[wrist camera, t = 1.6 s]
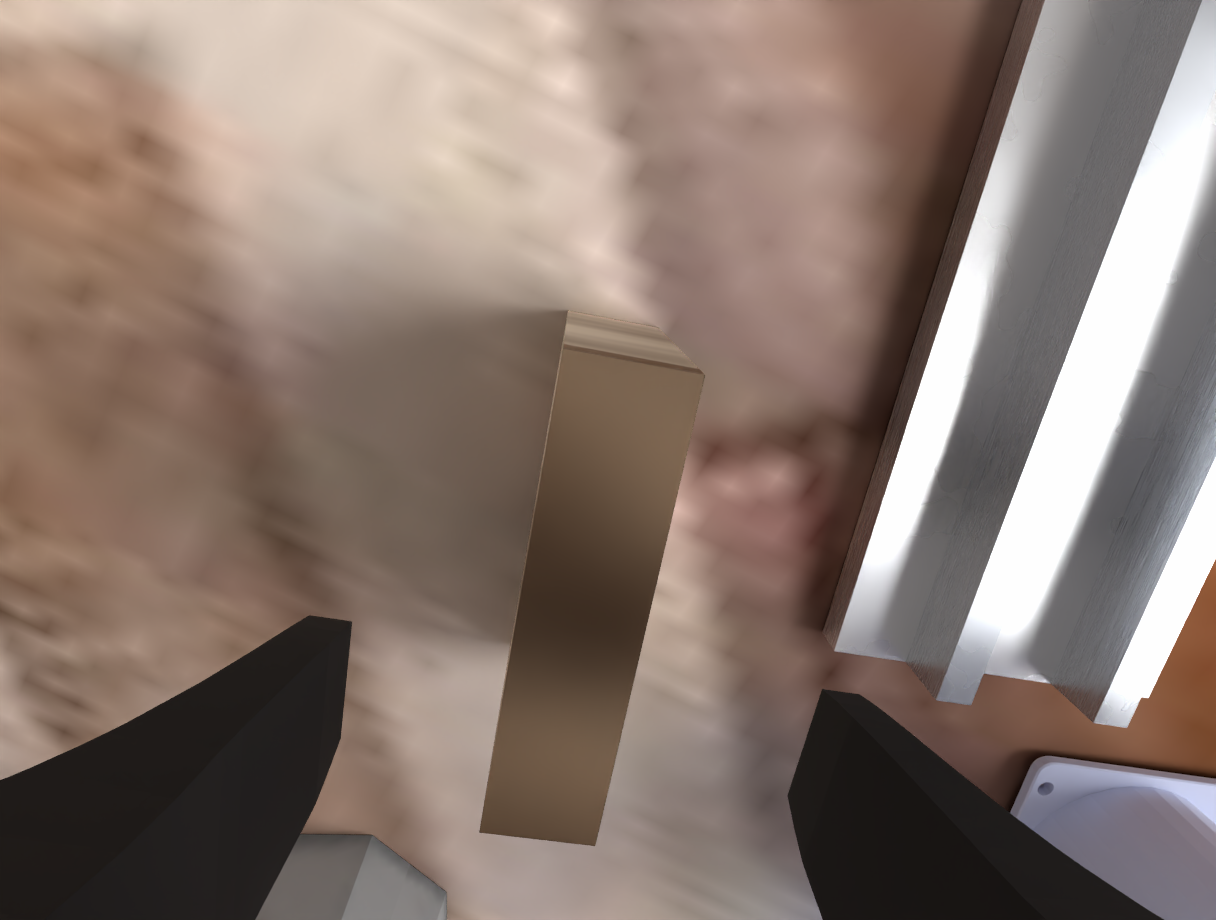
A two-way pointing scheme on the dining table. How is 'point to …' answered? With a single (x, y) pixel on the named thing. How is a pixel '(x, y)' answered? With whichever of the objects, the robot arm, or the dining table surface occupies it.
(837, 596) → the track
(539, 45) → the dining table surface
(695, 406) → the door panel
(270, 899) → the coffee maker
